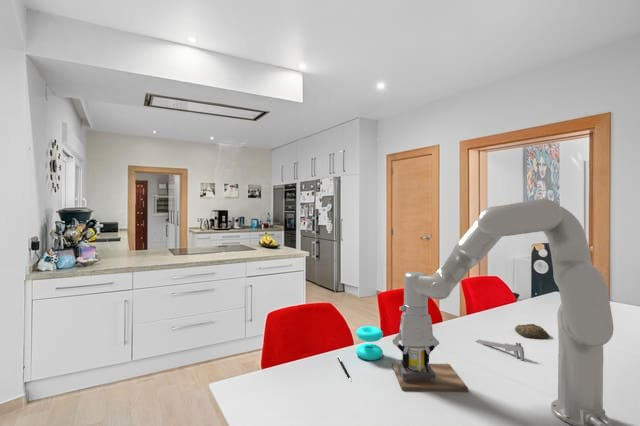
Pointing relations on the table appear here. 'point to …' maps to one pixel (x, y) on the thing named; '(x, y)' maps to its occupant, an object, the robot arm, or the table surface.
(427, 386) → the board
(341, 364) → the pen
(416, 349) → the supplement bottle
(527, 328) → the bread roll
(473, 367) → the table surface
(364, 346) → the donuts
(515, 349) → the caliper
